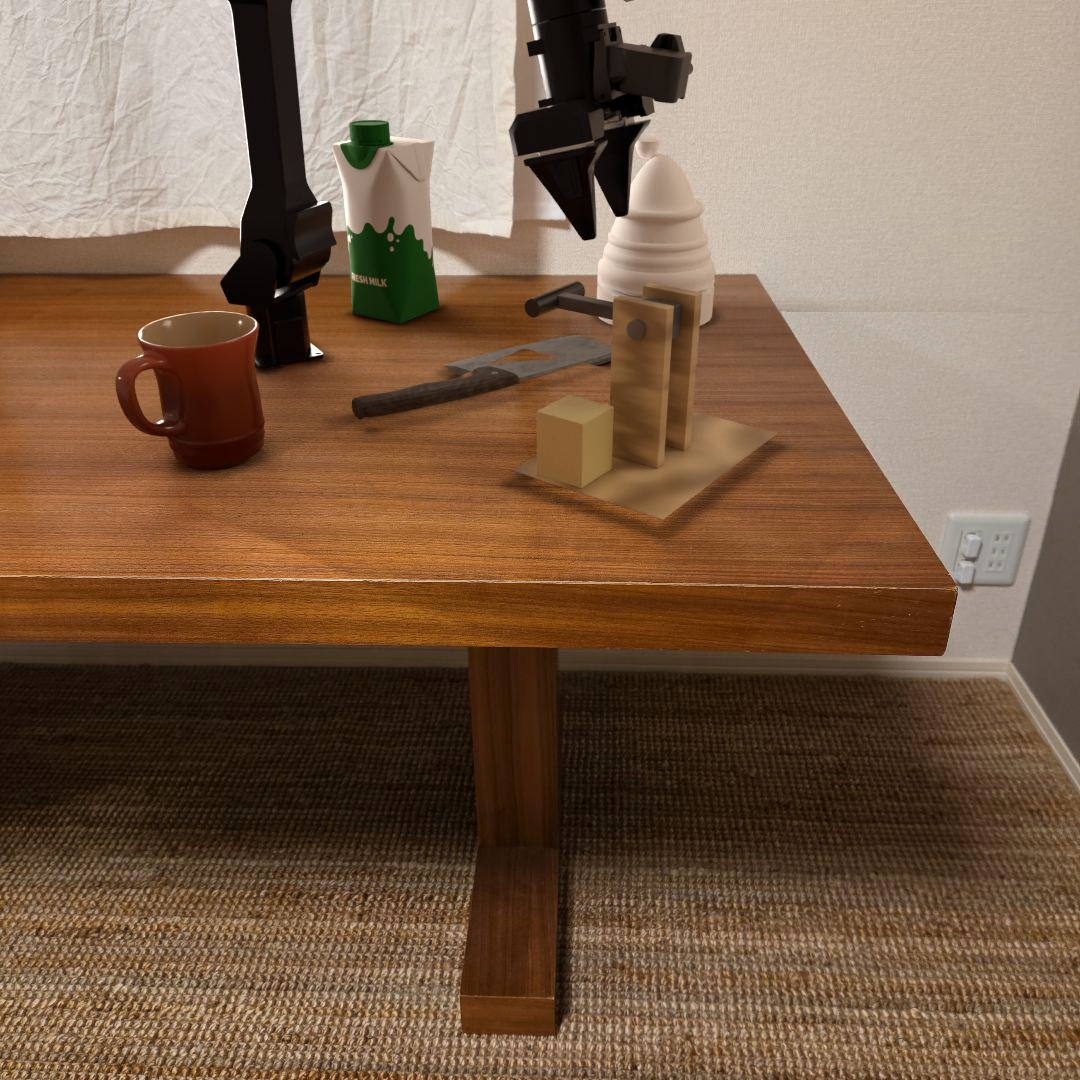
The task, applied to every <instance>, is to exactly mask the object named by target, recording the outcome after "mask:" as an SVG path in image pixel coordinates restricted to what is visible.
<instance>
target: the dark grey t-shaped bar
mask: <svg viewBox="0 0 1080 1080" xmlns="http://www.w3.org/2000/svg"><path fill="white" fill-rule="evenodd" d="M585 295H586V288H585V286H584V284H583V283H582V282H580V281H579V280H575V281H572V282H570V283H566V284H565V285H562V286H559V287H556V288H554V289H550V290H549V291H545V292H543V293H541V294H538V295H535V296H533V297H530V298H528V299H526V301H525V302H524V311H525V314H526V315H527V316H528V317H530V318H532V319H534V318H538V317H541V316H542V315H545V314H548V313H550V312H552V311H555V310H558V309H560V310H564V311H569V312H574V313H578V314H584V315H588V316H592V317H596V318H597V317H598V318H599V317H601V318H606V319H611V320H613V302H610V301H605V300H600V299H597V298H595V297H590V296H585ZM644 300H646V301H651V302H656V303H661V304H666V305H672V306H674V312H673V327H672V340H673V339H675V338H677V337H678V336H680V327H681V312H682V304H681V303H676V302H671V301H666V300H661V299H656V298H651V297H648V298H646V299H644Z"/></svg>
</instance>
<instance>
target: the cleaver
mask: <svg viewBox="0 0 1080 1080" xmlns="http://www.w3.org/2000/svg"><path fill="white" fill-rule="evenodd" d="M525 349H526V350H530V351H533V352H536V353H542V354H546V355H549V356H554V357H557V358H547V359H534V360H522V361H521V360H519V361H507V362H497V363H494V362H496V361H498V360H501V359H503V358H505V357H507V356H510V355H512V354H514V353H517V352H519V351H521V350H525ZM611 354H612V344H611V345H610V344H608V343H605V342H603V341H600V340H596V339H595V338H591V337H589V336H585V335H580V334H571V335H564V336H560V337H559V336H558V337H555V338H549V339H545V340H544V339H543V340H539V341H534V342H529V343H524V344H520V345H515V346H511V347H506V348H503V349H502V348H501V349H498V350H494V351H490V352H486V353H483V354H479V355H475V356H472V357H468V358H465V359H461V360H457V361H454V362H452V363H451V362H449V363H447V364H444V365H443V367H444V368H446V369H448V370H449V371H451V372H452V373H454V374H455V375H457V376H464V375H466V374H469V373H470V374H471V375H468V376H464V377H459V378H454V379H446V380H445V379H444V380H438V381H431V382H430V381H429V382H423V383H419V384H415V385H412V386H408V387H404V388H401V389H396V390H392V391H391V390H390V391H387V392H386V391H385V392H380V393H373V394H365V395H360V396H356V397H353V398H352V399H351V404H350V405H351V411H352V414H353V416H355V418H357V419H358V420H363V419H366V418H375V417H376V418H377V417H383V416H388V415H394V414H399V413H403V412H404V413H405V412H410V411H413V410H419V409H424V408H428V407H432V406H433V407H434V406H436V405H437V406H438V405H441V404H446V403H450V402H455V401H459V400H463V399H467V398H471V397H476V396H480V395H484V394H488V393H492V392H495V391H498V390H502V389H505V388H509V387H512V386H515V385H519V384H520V382H522V381H523V382H524V381H526V380H529V379H533V378H536V377H540V376H543V375H546V374H547V375H548V374H549V373H554V372H557V371H560V370H564V369H566V368H571V367H574V366H577V365H580V364H586V365H590V366H595V367H596V366H599V365H600V366H601V365H602V364H606V363H608V362H611Z"/></svg>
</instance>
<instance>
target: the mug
mask: <svg viewBox="0 0 1080 1080" xmlns="http://www.w3.org/2000/svg"><path fill="white" fill-rule="evenodd" d="M258 332H259V323H258V321H257V320H256V319H254V318H252V317H250V316H248V315H247V314H244V313H239V312H231V311H219V310H218V311H216V310H215V311H213V310H212V311H196V312H188V313H182V314H176V315H172V316H168V317H163V318H160V319H157V320H154V321H152V322H149V323H148V324H146V325H144V326H142V328H140V329H139V330H138V332H137V333H136V340H137V342H138V344H139V346H140V349H142V351H143V354H140V355H138V356H136V357H133V358H131V359H128V360H127V361H126V362H124V363H123V364H122V365H121V366H120V367H119V369H118V370H117V372H116V375H115V378H114V379H115V380H114V381H115V382H114V383H115V385H114V386H115V392H116V397H117V401H118V403H119V407H120V409H121V411H122V413H123V415H124V417H125V418H126V420H127V421H128V422H129V423H130V424H131V425H132V426H133V427H134V428H135V429H136V430H138V431H139V432H141V433H143V434H146V435H149V436H153V437H161V438H167V440H168V441H167V442H168V445H169V448H170V449H171V451H172V453H173V456H174V458H175V459H176V460H177V461H179V462H181V463H182V464H184V465H187V466H189V467H191V468H196V469H201V470H217V469H218V470H219V469H226V468H231V467H234V466H235V467H236V466H238V465H241V464H244V463H246V462H249V461H250V460H252V459H253V458H254V457H256V455H258V454H259V452H261V451H262V449H263V447H264V445H265V435H266V429H265V425H266V419H265V416H264V412H263V411H264V410H263V405H262V398H261V393H260V388H259V383H258V377H257V371H256V365H255V352H256V344H257V338H258ZM148 370H152V371H153V373H154V376H155V379H156V384H157V388H158V395H159V401H160V407H161V413H162V419H160V420H157V421H150V420H148V419H147V417H146V416H145V414H144V412H143V410H142V408H141V406H140V403H139V400H138V396H137V393H136V392H137V391H136V387H135V386H136V379H137V377H138V376H139V374H141V373H142V372H145V371H148Z"/></svg>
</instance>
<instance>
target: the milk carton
mask: <svg viewBox="0 0 1080 1080" xmlns="http://www.w3.org/2000/svg"><path fill="white" fill-rule="evenodd" d="M348 127H349V138H350V139H349V140H343V141H338V142H334V143H331V148H332V149H331V150H332V153H333V156H334V159H335V162H336V163H335V164H336V167H337V170H338V173H339V176H340V180H341V185H342V193H343V203H344V213H345V214H344V215H345V223H346V225H345V226H346V234H347V245H348V257H349V266H350V292H351V314H352V315H357V316H361V317H367V318H370V319H371V318H372V319H375V320H379V321H380V320H381V321H386V322H390V323H394V324H399V325H401V324H403V323H406V322H408V321H411V320H413V319H415V318H418V317H421V316H423V315H425V314H427V313H428V314H429V313H430V312H432V311H435V310H437V309H440V308H441V305H440V299H439V298H440V297H439V291H438V284H437V276H436V270H435V263H434V245H433V244H434V243H433V229H432V227H433V226H432V210H431V190H430V187H431V186H430V184H431V183H430V182H431V172H432V166H433V157H434V149H435V143H436V142H435V140H433V139H423V138H413V137H404V136H403V137H402V136H392V135H391V132H390V131H391V129H390V122H389V121H387V120H380V119H364V120H363V119H362V120H354V121H350V122H349V124H348Z"/></svg>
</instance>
